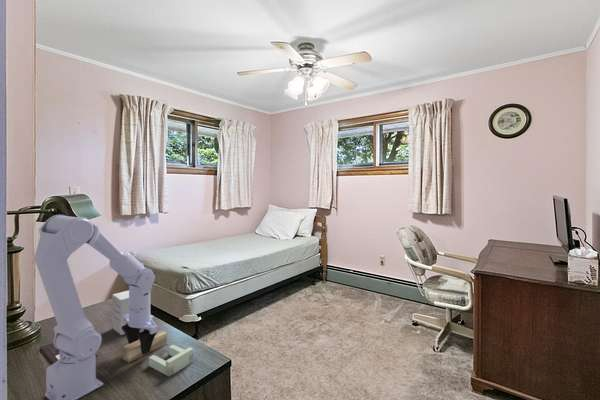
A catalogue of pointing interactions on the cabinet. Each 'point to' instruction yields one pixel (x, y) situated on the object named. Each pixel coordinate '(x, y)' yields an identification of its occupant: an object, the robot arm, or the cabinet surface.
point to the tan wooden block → (134, 348)
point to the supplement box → (120, 310)
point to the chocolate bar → (51, 352)
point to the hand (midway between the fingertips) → (139, 349)
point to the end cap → (172, 360)
